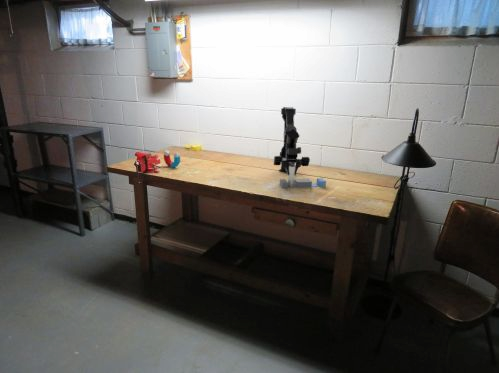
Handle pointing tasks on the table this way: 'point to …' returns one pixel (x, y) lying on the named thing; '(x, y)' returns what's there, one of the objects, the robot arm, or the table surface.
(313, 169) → the table surface
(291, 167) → the dark-capped white cylinder
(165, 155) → the magnet
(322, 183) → the gray notched block
